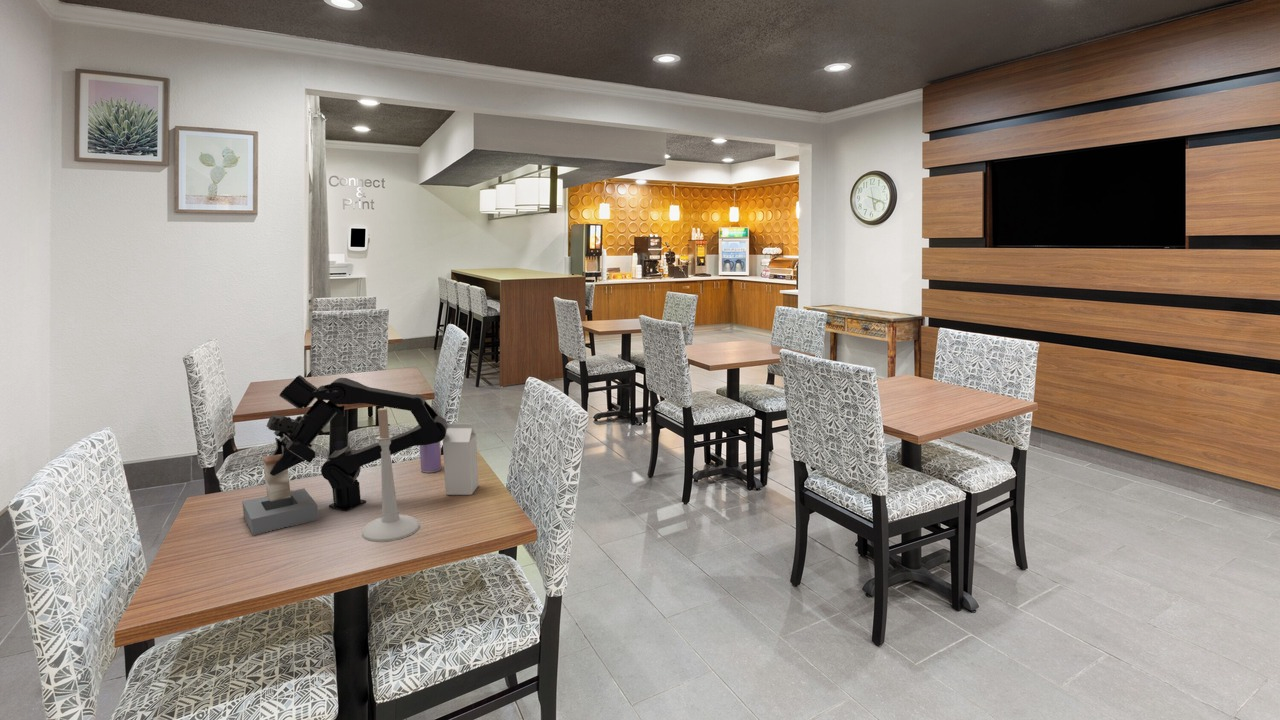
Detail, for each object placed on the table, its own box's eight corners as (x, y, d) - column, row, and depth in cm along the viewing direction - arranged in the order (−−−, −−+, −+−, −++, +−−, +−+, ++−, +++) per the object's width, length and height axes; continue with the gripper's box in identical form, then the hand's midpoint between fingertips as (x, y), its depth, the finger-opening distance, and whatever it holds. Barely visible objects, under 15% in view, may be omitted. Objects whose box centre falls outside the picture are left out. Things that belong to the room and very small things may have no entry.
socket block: (305, 502, 168) (304, 488, 167) (318, 519, 157) (317, 504, 157) (243, 516, 159) (242, 501, 159) (253, 535, 149) (251, 519, 148)
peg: (287, 491, 160) (283, 453, 159) (290, 496, 157) (286, 458, 155) (267, 496, 158) (262, 457, 156) (270, 501, 154) (266, 461, 153)
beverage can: (435, 474, 189) (432, 425, 187) (417, 472, 191) (414, 424, 188) (445, 467, 195) (442, 420, 193) (427, 466, 196) (424, 419, 194)
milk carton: (471, 495, 173) (468, 427, 170) (445, 495, 173) (441, 427, 170) (478, 485, 180) (475, 420, 177) (453, 485, 180) (450, 420, 177)
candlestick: (396, 545, 144) (387, 415, 139) (349, 537, 147) (338, 411, 142) (430, 522, 156) (423, 402, 151) (386, 516, 159) (377, 399, 154)
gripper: (279, 395, 163) (234, 445, 158) (295, 409, 149) (245, 464, 144) (316, 420, 169) (273, 469, 164) (334, 435, 155) (288, 489, 150)
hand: (269, 472), depth 155 cm, fingers closed on peg, 4 cm apart
